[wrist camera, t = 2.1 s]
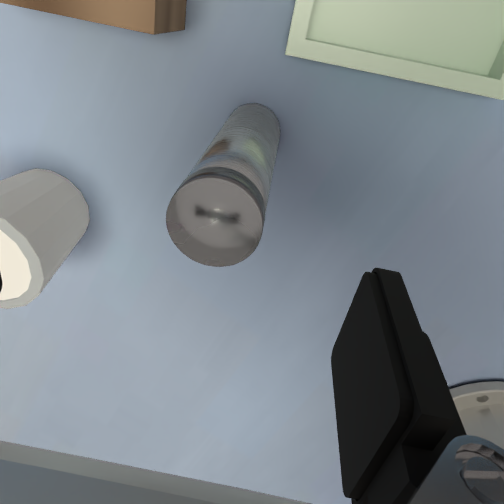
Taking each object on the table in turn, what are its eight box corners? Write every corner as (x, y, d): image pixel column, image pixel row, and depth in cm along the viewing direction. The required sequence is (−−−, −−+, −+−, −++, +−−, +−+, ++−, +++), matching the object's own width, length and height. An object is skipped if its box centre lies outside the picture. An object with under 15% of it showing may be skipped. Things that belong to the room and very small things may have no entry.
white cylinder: (-19, 184, 27) (-109, 233, 21) (53, 141, 25) (-26, 182, 19) (48, 261, 30) (-15, 323, 24) (118, 229, 28) (67, 288, 22)
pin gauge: (286, 109, 22) (271, 191, 12) (274, 163, 24) (253, 275, 14) (230, 97, 22) (168, 169, 12) (222, 152, 24) (162, 256, 14)
